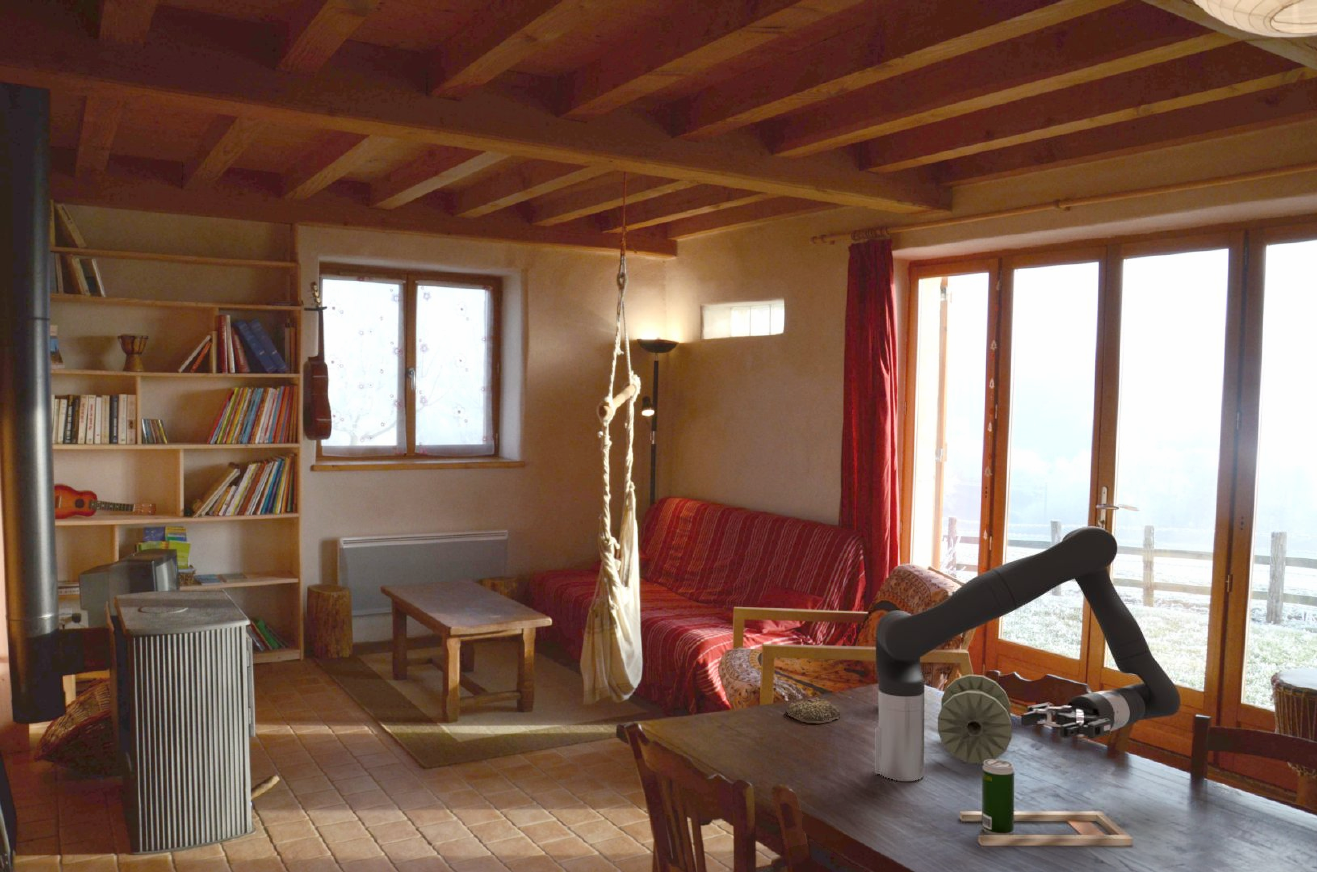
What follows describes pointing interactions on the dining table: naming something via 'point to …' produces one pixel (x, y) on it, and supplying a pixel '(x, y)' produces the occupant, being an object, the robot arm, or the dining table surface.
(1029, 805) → the dining table surface
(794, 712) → the speckled domed shell
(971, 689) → the spool
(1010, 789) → the beer can
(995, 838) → the frame
